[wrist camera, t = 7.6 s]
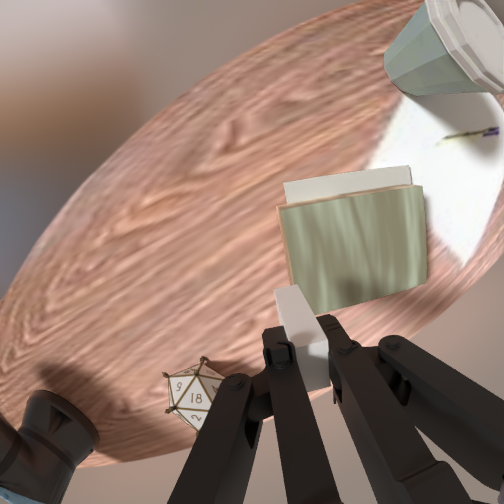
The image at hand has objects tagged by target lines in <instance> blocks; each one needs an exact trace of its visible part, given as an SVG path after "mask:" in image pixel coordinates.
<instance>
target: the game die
mask: <svg viewBox="0 0 504 504" xmlns="http://www.w3.org/2000/svg"><path fill="white" fill-rule="evenodd" d="M204 360H205V359H204V358H203V356H202V357H201V358H200V362H201V363H200V364H197V365H195V366H193V367H190V368H188V369H185V370H183V371H181V372H178V373H176V374H173V375H171V376H169V375H168V374H167V373H164V372H162V374H163V376H164V377H165V378H168V388H169V405H170V407H169V409H166V411H165V413H168V414H169V413H170V412H173V413H174V414H175V415H176V416H178V417H179V418H180V419H181V420H183V421H184V422H185V423H187V424H188V425H189V426H191V427H192V428H193V429H195V430H196V431H197V433H196V436H198V434H199V432H200V429H201V427H202V425H203V422H204V420H205V418H206V416H207V413H208V411H209V409H210V406H211V404H212V402H213V399H214V397H215V395H216V392H217V390H218V388H219V385H220V383H221V382H222V380H223V379H224V378H226V377H224V376H223V375H221V374H219V373H218V372H216V371H215V370H213V369H211V368H210V367H208V366H207V365H205V364H204V362H205V361H204Z"/></svg>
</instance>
